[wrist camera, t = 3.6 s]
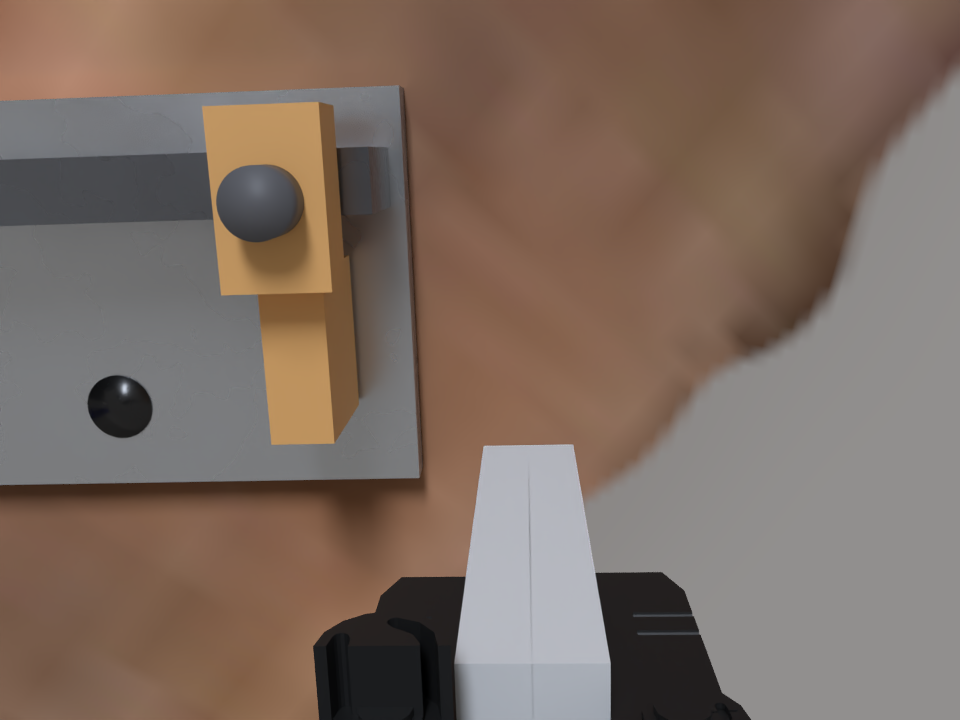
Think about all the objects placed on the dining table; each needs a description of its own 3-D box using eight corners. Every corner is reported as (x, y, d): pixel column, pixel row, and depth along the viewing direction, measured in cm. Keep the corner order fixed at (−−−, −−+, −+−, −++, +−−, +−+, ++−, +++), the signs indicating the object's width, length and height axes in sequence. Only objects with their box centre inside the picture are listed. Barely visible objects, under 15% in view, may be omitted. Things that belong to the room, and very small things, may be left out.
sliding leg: (289, 419, 32) (224, 494, 25) (262, 114, 30) (183, 103, 23) (376, 417, 32) (335, 492, 25) (356, 111, 30) (306, 98, 23)
